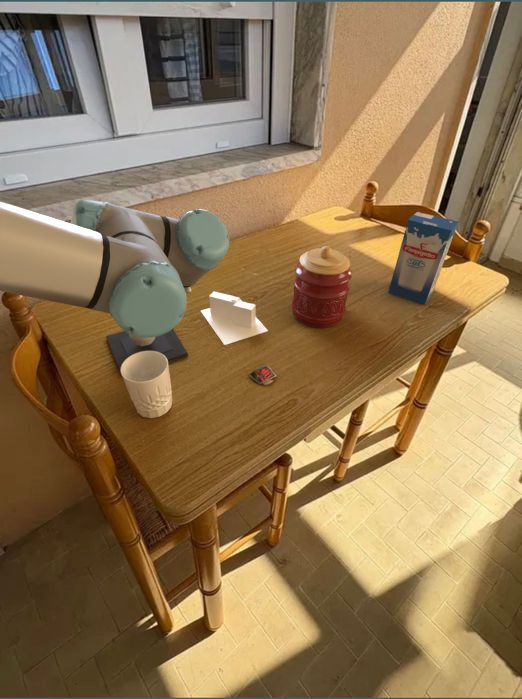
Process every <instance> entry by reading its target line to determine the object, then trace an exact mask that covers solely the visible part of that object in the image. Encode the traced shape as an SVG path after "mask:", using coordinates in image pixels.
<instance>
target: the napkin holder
mask: <svg viewBox="0 0 522 699" xmlns="http://www.w3.org/2000/svg"><path fill="white" fill-rule="evenodd" d="M208 300H209V307H208V308H205V309H201V310H200V313H201V314H202V316H203V317H204V318H205V319H206V321H207V322H208V324H209V326H210V327H211V328H212V329H213V331H214V332H215V334H216V335H217V337H218V338H219V340H220V341H221V342H222V344H223V345H224V346H226V345H229V344H232V343H235V342H239V341H241V340H245V339H248V338H251V337H254V336H258V335H260V334H264V333H267V332H269V330H268V329H267V327H265V325H264V324H263V323H262V322H261V320H260V319H259V318H258V317H257V315H256V314H257V312H256V311H257V310H256V309H257V308H256V306H257V305H256V304H254V303H250V302H246V301H243V300H242V299H241V298H240V297H239V296H234V295H230V294H227V293H223V292H218V291H215V290H213V291H212V292H211V294H209V295H208Z"/></svg>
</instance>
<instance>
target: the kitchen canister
mask: <svg viewBox="0 0 522 699" xmlns="http://www.w3.org/2000/svg"><path fill="white" fill-rule="evenodd" d="M298 260H299V261H298V263H297V264H296V265H295V267H294V272H295V275H296V276H295V277H294V280H293V285H294V287H293V299H292V303H291V309H292V315H293V316H294V318H295V319H296V320H297V321H298V322H300V323H301V324H304V325H306V326H309V327H313V328H330V327H333V326H335V325H337V324H339V323H340V322H341V321H342V320H343V319H344V318H343V317H344V315H345V314H346V308H347V307H346V305H347V300H348V293H349V291H350V287H351V285H350V282H349V281H350V280H351V279H352V276H353V270H352V269H351V261H350V259H349V257H347V256H346V255H344V254H343V253H342V252H341V251H339V250H336V249H333V248H331V247H330V245H323V246H322V247H316V248H312V249H310V250H308V251H306V252H304V253H303V254H301V255H300V257H299V259H298Z"/></svg>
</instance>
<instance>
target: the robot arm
mask: <svg viewBox="0 0 522 699" xmlns="http://www.w3.org/2000/svg"><path fill="white" fill-rule="evenodd" d="M71 211H72V213H71V217H70V223H69V222H67V221H63V220H61V219H57V218H54V217H52V216H48V215H45V214H41V213H39V212H36V211H32V210H29V209H27V208H23V207H20V206H17V205H15V204H11V203H8V202H4V201H2V200H0V292H2V293H7V294H8V293H9V294H13V295H18V296H24V297H29V298H32V299H33V298H34V299H39V300H44V301H49V302H53V303H59V304H64V305H70V306H75V307H79V308H84V309H87V310H88V309H89V310H93V311H96V312H100V313H107V314H110V316H111V318H113V319H114V322H115V323H116V324H117V326H118V327H119V328H121V330H123V331H126V332H127V333H129V334H130V335H133V336H136V337H142V338H150V337H156V336H160V335H163V334H165V333H167V332H169V331H170V330H172V329H173V330H174V329H175V327H176V326H178V324H179V323H180V322H181V321H182V319H183V317H184V316H185V315H186V310H187V307H188V306H187V305H188V296H187V294H191V293H192V292H193V291H192V287H193V286H194V285H195V284H196V283H197V282H199V281H200V280H201V279H202V278H203V277H205V275H207V274H208V273H209V272H211V270H214V269H215V268H216V267H217V266H218V264H219V263H220V262H221V261H222V260H223V259H224V257H225V256H226V255H227V253H228V251H229V248H230V235H229V231H228V230H227V227H226V225H225V223H224V222H223V221H222V219H220V218H219V217H218V216H217V215H216V214H214V213H213V212H211V211H209V210H206V209H203V208H197V209H192V210H189V211H188V212H186V213H185V214H182V215H181V216H180V217H179V218H174V217H170V216H162V215H158V214H154V213H149V212H146V211H141V210H137V209H132V208H128V207H125V206H121V205H117V204H112V203H110V202H108V201H98V200H93V199H92V200H91V199H87V198H86V199H85V198H83V199H79V200H77V201H76V202H75V203H74V204H73V207H72V210H71Z"/></svg>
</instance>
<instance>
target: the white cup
mask: <svg viewBox="0 0 522 699" xmlns="http://www.w3.org/2000/svg"><path fill="white" fill-rule="evenodd" d="M120 375H121V377H122V380H123V382H124V385H125V387H126V390H127V392H128V395H129V397H130V399H131V402H132V403H133V405H134V407H135V409H136V410H135V411H136V412H137V414H139V415H140V416H141V417H142V418H148V419H155V418H159V417H161V416H164V415H166V414H167V413H168V412H169V411H170V409H171V408H172V405H173V393H172V392H173V391H172V390H173V389H172V380H171V374H170V366H169V362H168V360H167V358H166V357H165V356H164V355H163V354H161V353H159V352H156V351H142V352H138V353H135V354H133V355H131V356H130V357H128V358H127V359H126V360H125V361H124V362H123V364H122V365H121V373H120Z"/></svg>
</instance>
